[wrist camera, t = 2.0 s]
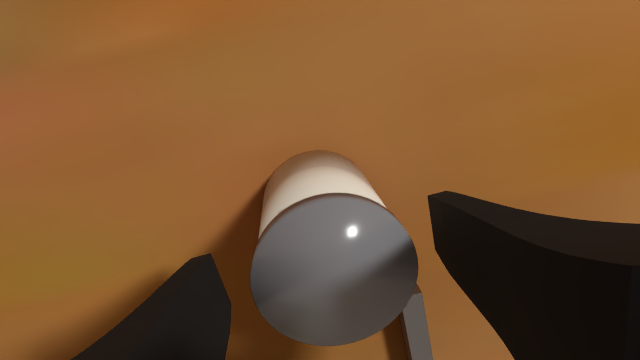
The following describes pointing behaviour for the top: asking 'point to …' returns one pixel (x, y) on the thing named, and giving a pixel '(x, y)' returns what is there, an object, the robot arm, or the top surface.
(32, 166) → the top surface
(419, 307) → the lane
